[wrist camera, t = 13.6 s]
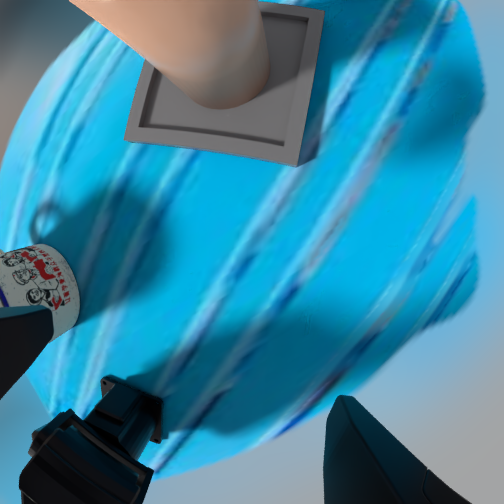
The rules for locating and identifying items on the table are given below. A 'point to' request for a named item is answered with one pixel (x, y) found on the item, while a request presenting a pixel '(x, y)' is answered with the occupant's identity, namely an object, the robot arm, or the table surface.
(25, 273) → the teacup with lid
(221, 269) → the table surface
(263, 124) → the charcoal tray
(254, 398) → the table surface
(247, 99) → the terracotta cup
